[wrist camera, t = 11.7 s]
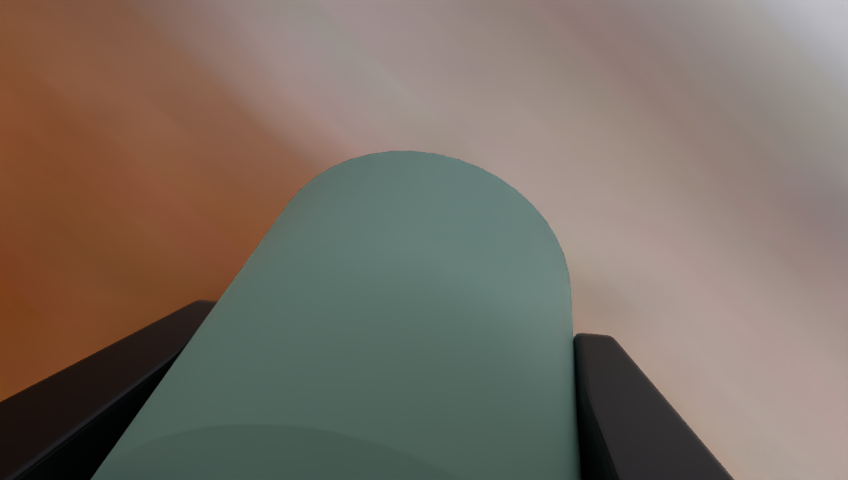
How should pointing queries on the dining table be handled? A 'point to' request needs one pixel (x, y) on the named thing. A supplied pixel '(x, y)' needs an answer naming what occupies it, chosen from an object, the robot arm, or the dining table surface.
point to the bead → (378, 342)
